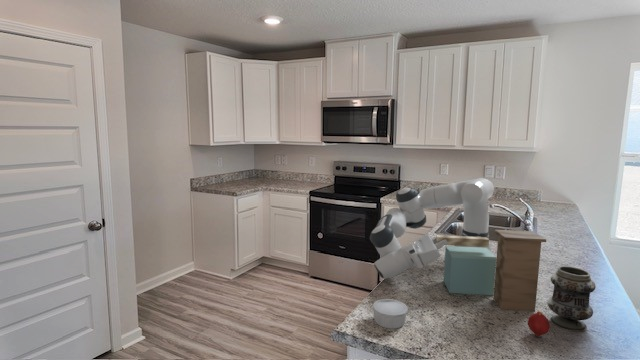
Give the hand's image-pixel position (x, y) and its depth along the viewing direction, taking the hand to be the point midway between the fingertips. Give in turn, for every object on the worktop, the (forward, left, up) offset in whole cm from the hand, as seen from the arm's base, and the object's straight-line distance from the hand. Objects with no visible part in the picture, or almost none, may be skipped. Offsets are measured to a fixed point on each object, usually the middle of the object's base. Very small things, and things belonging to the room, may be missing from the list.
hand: (445, 239), depth 142 cm
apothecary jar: (+23, +34, -20) cm, 46 cm away
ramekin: (+30, -23, -20) cm, 43 cm away
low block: (0, +9, -19) cm, 22 cm away
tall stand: (+12, +22, -19) cm, 32 cm away
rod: (0, +6, -2) cm, 7 cm away
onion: (+32, +21, -20) cm, 44 cm away
